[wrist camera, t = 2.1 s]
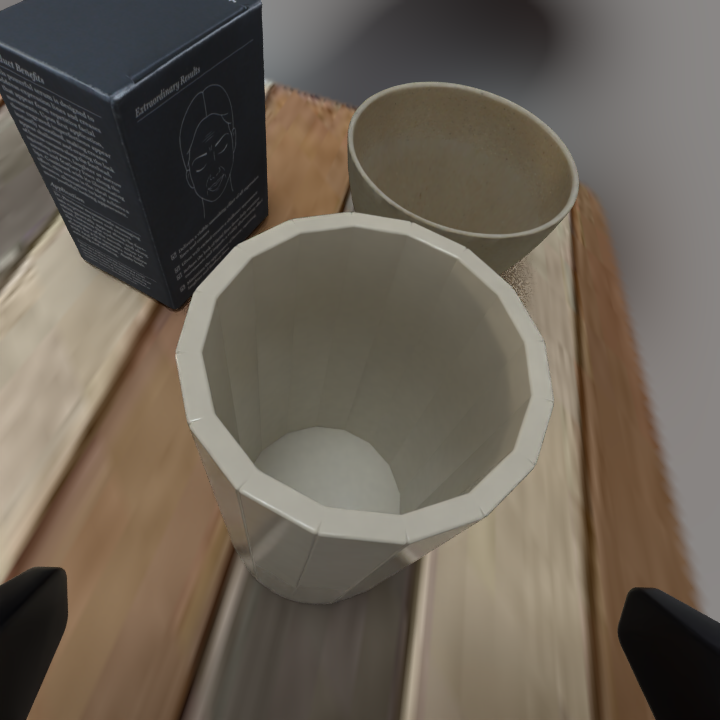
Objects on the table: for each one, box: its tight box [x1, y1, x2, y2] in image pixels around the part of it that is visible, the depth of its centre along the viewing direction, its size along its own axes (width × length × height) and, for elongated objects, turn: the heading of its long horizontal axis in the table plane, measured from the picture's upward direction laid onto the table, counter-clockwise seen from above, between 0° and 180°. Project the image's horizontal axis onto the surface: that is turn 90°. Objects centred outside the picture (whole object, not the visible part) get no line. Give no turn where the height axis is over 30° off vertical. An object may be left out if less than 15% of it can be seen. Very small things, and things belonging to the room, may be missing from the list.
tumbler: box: [175, 212, 554, 604], centre depth 14 cm, size 7×7×12 cm
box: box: [0, 0, 268, 309], centre depth 21 cm, size 8×6×11 cm
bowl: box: [348, 82, 579, 275], centre depth 24 cm, size 10×10×7 cm
